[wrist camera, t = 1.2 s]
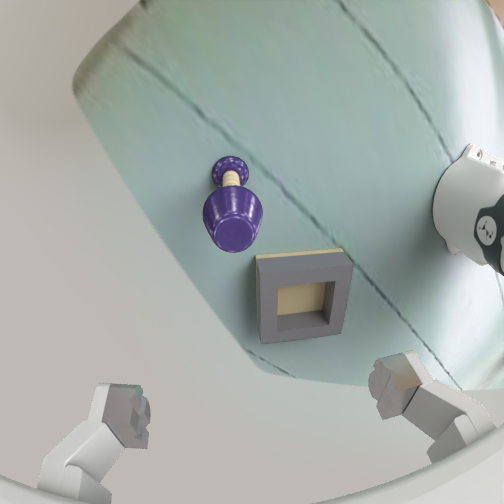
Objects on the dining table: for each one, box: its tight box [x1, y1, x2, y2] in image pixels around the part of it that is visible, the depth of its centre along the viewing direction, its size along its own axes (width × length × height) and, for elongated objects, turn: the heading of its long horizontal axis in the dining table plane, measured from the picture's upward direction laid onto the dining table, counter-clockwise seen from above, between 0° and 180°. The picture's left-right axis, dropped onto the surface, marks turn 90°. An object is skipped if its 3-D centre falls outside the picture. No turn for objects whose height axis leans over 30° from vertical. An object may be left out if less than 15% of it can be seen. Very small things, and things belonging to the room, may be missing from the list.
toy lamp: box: [203, 156, 263, 253], centre depth 28 cm, size 5×5×17 cm
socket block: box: [255, 248, 354, 344], centre depth 42 cm, size 12×12×4 cm
